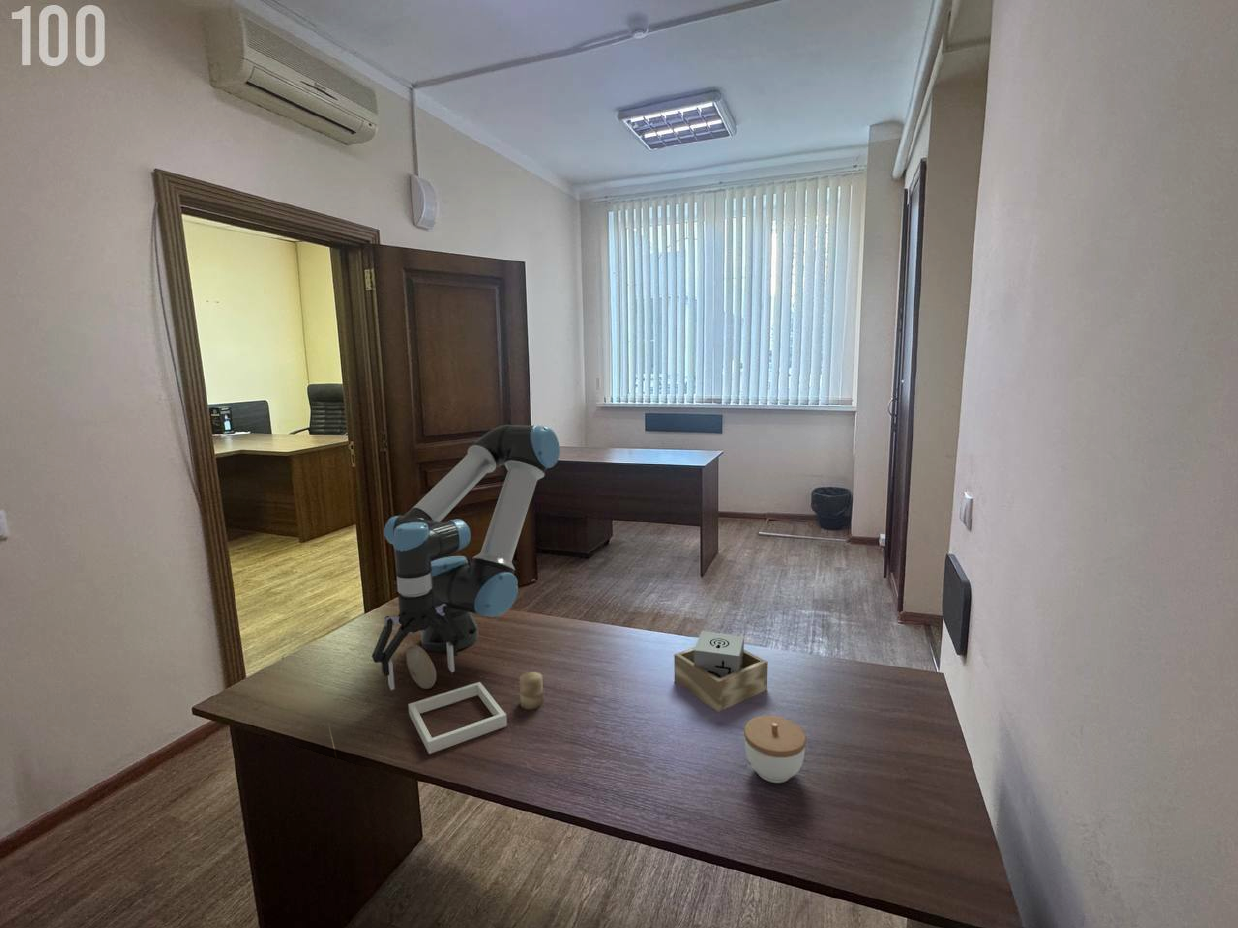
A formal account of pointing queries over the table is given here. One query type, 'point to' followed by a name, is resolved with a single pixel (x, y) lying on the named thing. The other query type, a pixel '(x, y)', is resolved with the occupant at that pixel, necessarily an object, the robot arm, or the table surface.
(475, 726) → the white rectangular frame
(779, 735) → the lidded jar
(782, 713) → the table surface
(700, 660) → the icon cube
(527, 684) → the short oak dowel
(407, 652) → the stone
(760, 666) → the oak crate
